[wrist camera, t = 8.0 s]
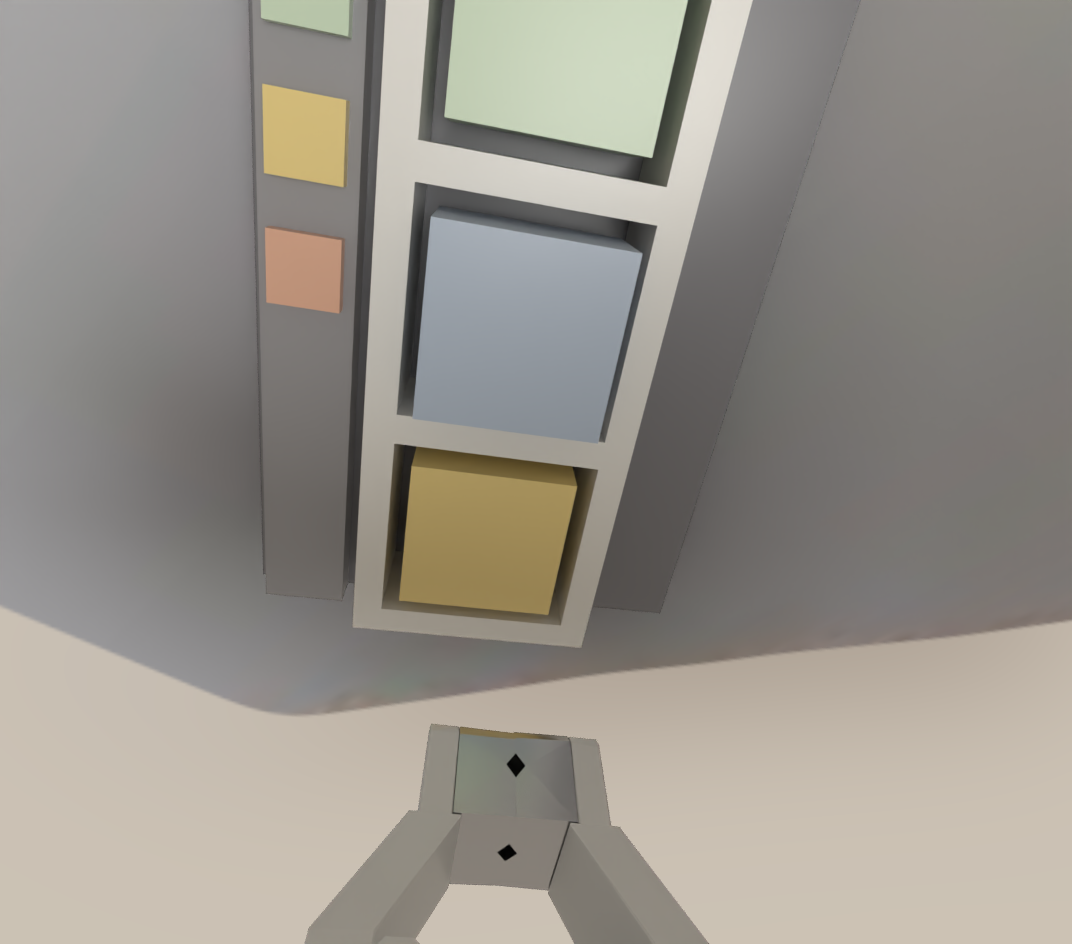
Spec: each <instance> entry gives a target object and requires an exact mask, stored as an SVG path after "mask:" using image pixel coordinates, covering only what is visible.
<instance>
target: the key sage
mask: <svg viewBox="0 0 1072 944" xmlns="http://www.w3.org/2000/svg"><path fill="white" fill-rule="evenodd" d="M687 3H688V0H455V7H454V18H453V28H452V39H451V50H450V61H449V71H448V82H447V93H446V103H445V114H444V117H445V118H447V119H448V120H450V121H451V122H456V123H461V124H466V125H471V126H477V127H482V128H487V129H492V130H497V131H502V132H507V133H512V134H517V135H522V136H527V137H533V138H538V139H543V140H548V141H553V142H558V143H563V144H568V145H573V146H578V147H584V148H589V149H594V150H599V151H604V152H609V153H614V154H619V155H624V156H629V157H645V158H652V156H653V152H654V148H655V143H656V139H657V134H658V130H659V126H660V121H661V117H662V112H663V108H664V104H665V99H666V95H667V90H668V86H669V82H670V77H671V73H672V68H673V64H674V60H675V55H676V51H677V47H678V42H679V38H680V33H681V29H682V25H683V20H684V16H685V11H686V7H687Z"/></svg>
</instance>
